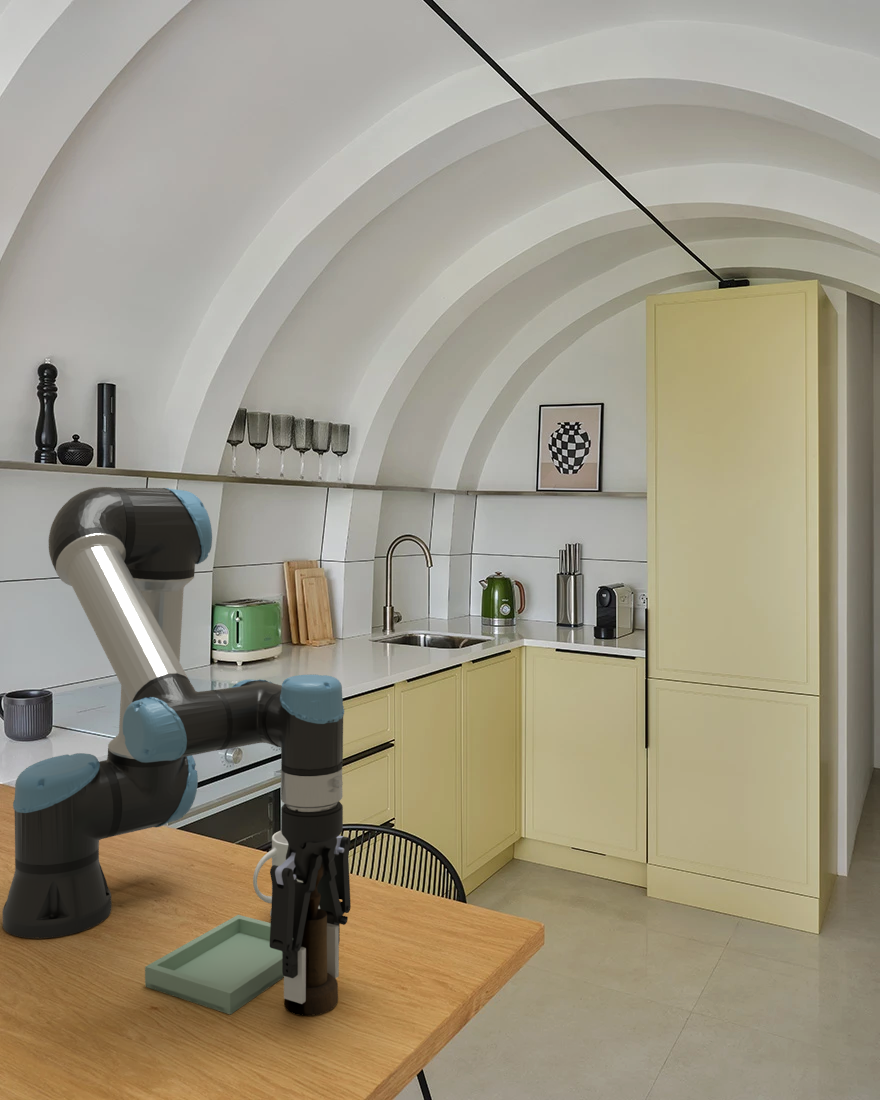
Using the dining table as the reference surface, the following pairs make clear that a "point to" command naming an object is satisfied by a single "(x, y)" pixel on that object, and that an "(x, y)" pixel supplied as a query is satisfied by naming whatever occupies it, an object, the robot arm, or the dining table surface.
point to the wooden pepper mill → (316, 962)
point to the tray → (220, 966)
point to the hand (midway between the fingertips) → (311, 986)
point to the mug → (278, 859)
